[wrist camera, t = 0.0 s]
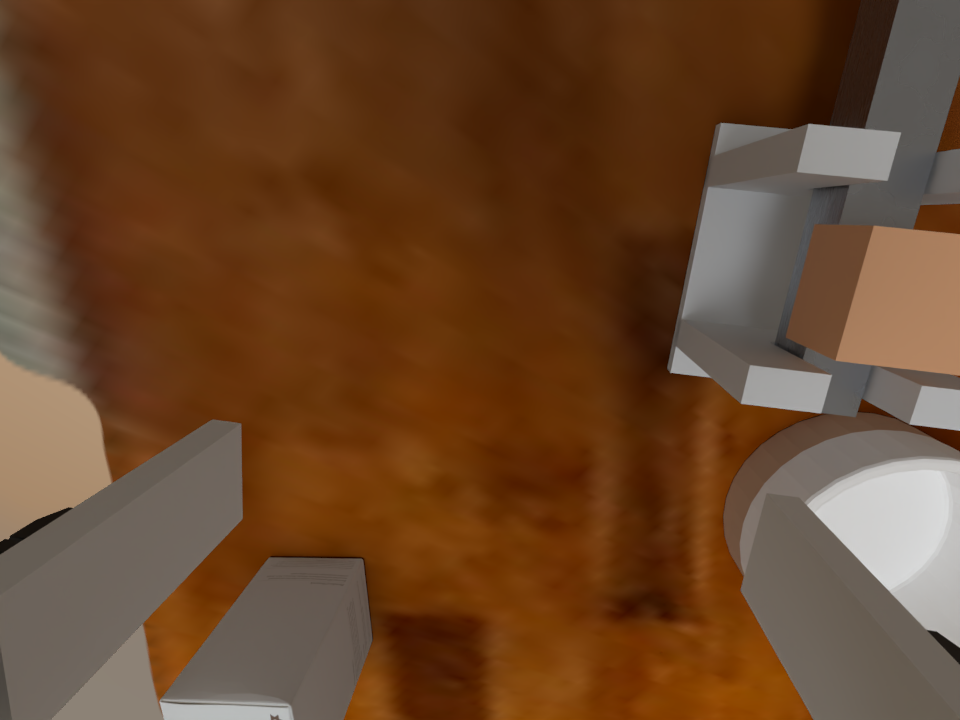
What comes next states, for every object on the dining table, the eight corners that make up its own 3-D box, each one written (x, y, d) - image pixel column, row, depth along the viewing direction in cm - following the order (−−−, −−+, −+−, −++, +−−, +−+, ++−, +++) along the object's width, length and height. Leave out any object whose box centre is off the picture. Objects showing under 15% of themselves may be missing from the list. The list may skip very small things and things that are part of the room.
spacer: (814, 224, 28) (874, 225, 23) (936, 236, 28) (1021, 240, 23) (785, 337, 29) (835, 360, 25) (900, 350, 29) (973, 377, 24)
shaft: (859, -52, 28) (920, -103, 24) (951, -46, 28) (1031, -96, 23) (751, 386, 34) (784, 410, 30) (826, 395, 34) (870, 421, 30)
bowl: (882, 634, 45) (960, 726, 37) (686, 566, 45) (720, 642, 37) (1002, 455, 40) (1121, 514, 32) (783, 378, 40) (846, 419, 32)
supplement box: (266, 554, 48) (153, 698, 34) (364, 555, 47) (292, 705, 33) (280, 639, 50) (179, 810, 36) (374, 643, 49) (310, 818, 35)
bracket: (715, 125, 36) (820, 73, 23) (902, 142, 35) (1119, 99, 22) (667, 368, 41) (731, 440, 28) (832, 388, 40) (978, 471, 27)
